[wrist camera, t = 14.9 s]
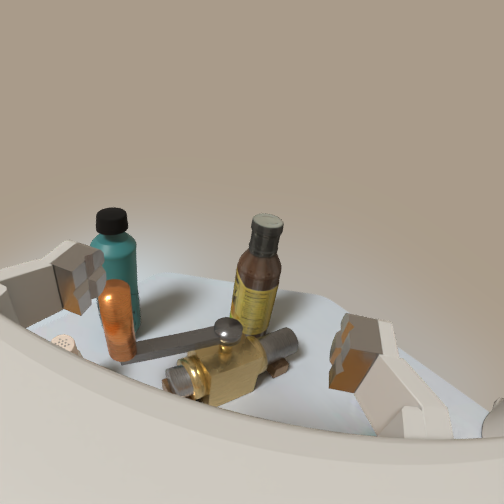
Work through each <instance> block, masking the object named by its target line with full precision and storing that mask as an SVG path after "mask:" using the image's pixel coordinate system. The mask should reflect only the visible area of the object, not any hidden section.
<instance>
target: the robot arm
mask: <svg viewBox="0 0 504 504" xmlns="http://www.w3.org/2000/svg"><path fill="white" fill-rule="evenodd" d="M104 261H105V260H104V253H103V252H102V251H101V250H100V249H97V248H94V247H91V246H88V245H84V244H81V243H78V242H75V241H72V240H66V241H64V242H63V243H61V244H60V245H59V246H57V247H56V248H55V249H53V250H52V251H51V252H49V253H48V254H47V255H46V256H44V257H43V258H42V259H41V260H38V259H36V260H32V261H28V262H25V263H21V264H18V265H15V266H11V267H7V268H4V269H0V504H504V399H503V398H498V399H497V400H496V401H495V402H494V405H493V409H492V411H491V412H490V413H489V414H488V416H487V417H486V419H485V421H484V423H483V428H482V438H475V439H454V437H453V432H452V427H451V422H450V417H449V412H448V408H447V407H446V406H445V405H444V404H443V402H442V401H441V400H440V399H439V398H438V397H437V395H436V394H435V393H434V392H433V391H432V390H431V389H430V388H429V386H428V385H427V384H426V383H425V382H424V381H423V380H422V378H421V377H420V376H419V375H418V374H417V373H416V372H415V371H414V370H413V368H412V367H411V366H410V365H409V364H408V363H407V362H406V361H405V360H404V359H403V358H399V353H398V348H397V343H396V338H395V335H394V330H393V325H392V323H391V322H390V321H386V320H380V319H372V318H367V317H363V316H358V315H353V314H348V313H346V314H345V315H344V317H343V319H342V321H341V330H340V331H339V332H337V333H336V335H335V337H334V339H333V342H332V346H331V350H330V363H331V364H332V367H331V369H330V371H329V388H330V389H335V390H340V391H345V392H350V393H354V396H355V397H356V399H357V401H358V403H359V404H360V406H361V408H362V410H363V412H364V413H365V415H366V417H367V419H368V420H369V422H370V424H371V426H372V428H373V429H374V431H375V433H376V435H377V436H366V435H357V434H348V433H340V432H333V431H326V430H319V429H313V428H307V427H301V426H296V425H291V424H286V423H281V422H276V421H271V420H266V419H262V418H258V417H253V416H249V415H245V414H241V413H237V412H233V411H229V410H226V409H222V408H218V407H215V406H211V405H208V404H204V403H201V402H198V401H194V400H191V399H188V398H185V397H182V396H179V395H176V394H173V393H170V392H167V391H164V390H161V389H158V388H155V387H153V386H150V385H147V384H144V383H142V382H139V381H137V380H134V379H131V378H129V377H126V376H124V375H121V374H119V373H116V372H114V371H112V370H109V369H107V368H105V367H102V366H100V365H98V364H95V363H93V362H91V361H89V360H87V359H84V358H82V357H80V356H78V355H76V354H74V353H72V352H70V351H68V350H66V349H64V348H62V347H60V346H58V345H56V344H54V343H52V342H50V341H48V340H46V339H44V338H42V337H40V336H38V335H37V334H35V333H33V332H31V331H29V330H28V329H26V328H27V327H29V326H31V325H33V324H35V323H37V322H39V321H41V320H43V319H45V318H47V317H49V316H51V315H53V314H55V313H57V312H59V311H61V310H63V309H65V310H68V311H70V312H73V313H75V314H78V315H80V316H82V314H83V313H84V312H85V311H86V310H87V309H88V308H89V307H90V306H91V304H92V303H91V299H94V298H97V297H99V296H100V294H101V293H102V292H103V290H104V288H105V285H106V271H105V270H104V268H103V267H102V264H103V263H104Z"/></svg>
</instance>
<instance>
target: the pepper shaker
mask: <svg viewBox="0 0 504 504" xmlns="http://www.w3.org/2000/svg"><path fill="white" fill-rule="evenodd" d="M51 342H52V343H54V344H56V345H58V346H60V347H62V348H64V349H66V350H68V351H70V352H72V353H74V354H76V355H78V356H80V357H82V355H81V353H80V351H79V350H77V347H76V344H75V341H74V339H73V338H72V337H71V336H68V335H65V334H64V335H58V336H56V337H55V338H53V339H52V341H51ZM82 358H83V357H82Z"/></svg>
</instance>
